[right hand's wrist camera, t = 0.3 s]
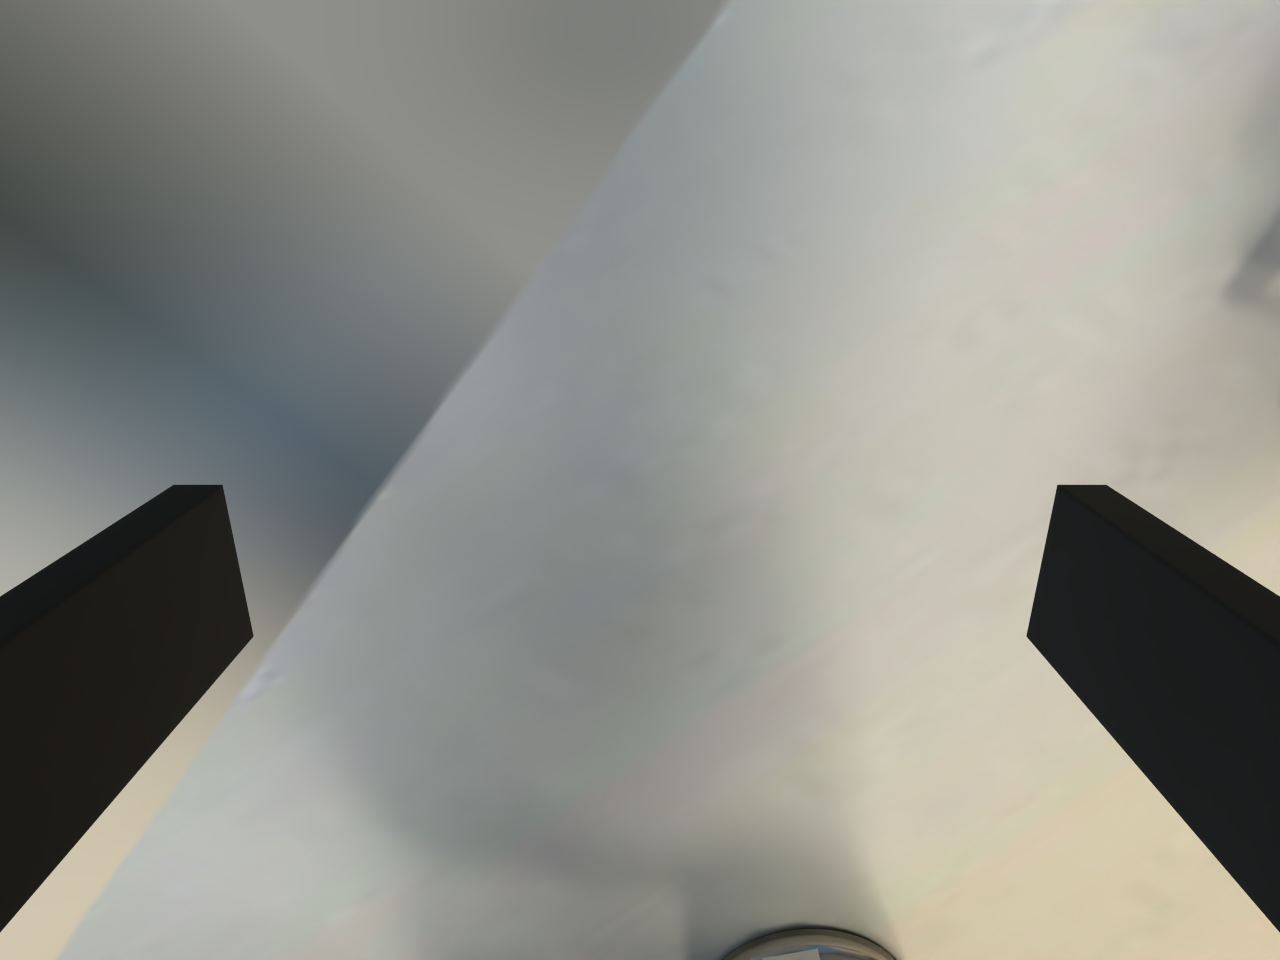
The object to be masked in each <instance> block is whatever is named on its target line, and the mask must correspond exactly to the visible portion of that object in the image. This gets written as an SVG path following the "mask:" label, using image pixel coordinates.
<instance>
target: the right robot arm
mask: <svg viewBox="0 0 1280 960" xmlns="http://www.w3.org/2000/svg"><path fill="white" fill-rule="evenodd" d="M252 637H253V632H252V627H251V622H250V617H249V612H248V607H247V602H246V598H245V593H244V588H243V583H242V578H241V573H240V568H239V563H238V558H237V554H236V549H235V544H234V539H233V534H232V529H231V524H230V519H229V514H228V510H227V505H226V500H225V495H224V490H223V485H173V486H171V487H170V488H168V489H167V490H165V491H164V492H162V493H160V494H159V495H157V496H156V497H154V498H153V499H151V500H150V501H148V502H146V503H145V504H143V505H142V506H140V507H139V508H137V509H136V510H134V511H132V512H131V513H129V514H128V515H126V516H125V517H123V518H122V519H120V520H118V521H117V522H115V523H114V524H112V525H111V526H109V527H108V528H106V529H105V530H103V531H101V532H100V533H98V534H97V535H95V536H94V537H92V538H91V539H89V540H87V541H86V542H84V543H83V544H81V545H80V546H78V547H77V548H75V549H73V550H72V551H70V552H69V553H67V554H66V555H64V556H63V557H61V558H59V559H58V560H56V561H55V562H53V563H52V564H50V565H49V566H47V567H46V568H44V569H42V570H41V571H39V572H38V573H36V574H35V575H33V576H32V577H30V578H28V579H27V580H25V581H24V582H22V583H21V584H19V585H18V586H16V587H14V588H13V589H11V590H10V591H8V592H7V593H5V594H4V595H2V596H1V597H0V932H1V931H2V930H3V928H4V927H5V926H6V925H7V924H8V923H9V921H10V920H11V919H12V918H13V917H14V916H15V914H16V913H17V912H18V911H19V910H20V909H21V907H22V906H23V905H24V904H25V903H26V902H27V900H28V899H29V898H30V897H31V896H32V895H33V893H34V892H35V891H36V890H37V889H38V888H39V886H40V885H41V884H42V883H43V882H44V880H45V879H46V878H47V877H48V876H49V875H50V873H51V872H52V871H53V870H54V869H55V868H56V867H57V865H58V864H59V863H60V862H61V861H62V860H63V858H64V857H65V856H66V855H67V854H68V853H69V851H70V850H71V849H72V848H73V847H74V845H75V844H76V843H77V842H78V841H79V840H80V838H81V837H82V836H83V835H84V834H85V833H86V831H87V830H88V829H89V828H90V827H91V826H92V824H93V823H94V822H95V821H96V820H97V819H98V817H99V816H100V815H101V814H102V813H103V812H104V810H105V809H106V808H107V807H108V806H109V805H110V803H111V802H112V801H113V800H114V799H115V798H116V796H117V795H118V794H119V793H120V792H121V791H122V789H123V788H124V787H125V786H126V785H127V783H128V782H129V781H130V780H131V779H132V778H133V777H134V775H135V774H136V773H137V772H138V771H139V770H140V768H141V767H142V766H143V765H144V764H145V763H146V761H147V760H148V759H149V758H150V757H151V756H152V754H153V753H154V752H155V751H156V750H157V749H158V747H159V746H160V745H161V744H162V743H163V742H164V740H165V739H166V738H167V737H168V736H169V734H170V733H171V732H172V731H173V730H174V729H175V727H176V726H177V725H178V724H179V723H180V722H181V720H182V719H183V718H184V717H185V716H186V715H187V713H188V712H189V711H190V710H191V709H192V708H193V706H194V705H195V704H196V703H197V702H198V701H199V699H200V698H201V697H202V696H203V695H204V694H205V692H206V691H207V690H208V689H209V688H210V687H211V685H212V684H213V683H214V682H215V681H216V679H217V678H218V677H219V676H220V675H221V674H222V673H223V671H224V670H225V669H226V668H227V667H228V665H229V664H230V663H231V662H232V661H233V660H234V658H235V657H236V656H237V655H238V654H239V653H240V652H241V650H242V649H243V648H244V647H245V646H246V644H247V643H248V642H249V641H250V640H251V639H252ZM1027 637H1028V639H1029V640H1030V641H1031V642H1032V643H1033V645H1034V646H1035V647H1036V648H1037V649H1038V650H1039V652H1040V653H1041V654H1042V655H1043V656H1044V657H1045V659H1046V660H1047V661H1048V662H1049V663H1050V664H1051V666H1052V667H1053V668H1054V669H1055V670H1056V671H1057V673H1058V674H1059V675H1060V676H1061V677H1062V678H1063V680H1064V681H1065V682H1066V683H1067V684H1068V685H1069V687H1070V688H1071V689H1072V690H1073V691H1074V692H1075V694H1076V695H1077V696H1078V697H1079V698H1080V699H1081V701H1082V702H1083V703H1084V704H1085V705H1086V706H1087V708H1088V709H1089V710H1090V711H1091V712H1092V713H1093V715H1094V716H1095V717H1096V718H1097V719H1098V720H1099V722H1100V723H1101V724H1102V725H1103V726H1104V727H1105V729H1106V730H1107V731H1108V732H1109V733H1110V734H1111V736H1112V737H1113V738H1114V739H1115V740H1116V742H1117V743H1118V744H1119V745H1120V746H1121V747H1122V749H1123V750H1124V751H1125V752H1126V753H1127V754H1128V756H1129V757H1130V758H1131V759H1132V760H1133V761H1134V763H1135V764H1136V765H1137V766H1138V767H1139V768H1140V770H1141V771H1142V772H1143V773H1144V774H1145V775H1146V777H1147V778H1148V779H1149V780H1150V781H1151V782H1152V784H1153V785H1154V786H1155V787H1156V788H1157V789H1158V791H1159V792H1160V793H1161V794H1162V795H1163V796H1164V798H1165V799H1166V800H1167V801H1168V802H1169V803H1170V805H1171V806H1172V807H1173V808H1174V809H1175V810H1176V812H1177V813H1178V814H1179V815H1180V816H1181V817H1182V819H1183V820H1184V821H1185V822H1186V823H1187V824H1188V826H1189V827H1190V828H1191V829H1192V830H1193V831H1194V833H1195V834H1196V835H1197V836H1198V837H1199V838H1200V840H1201V841H1202V842H1203V843H1204V844H1205V846H1206V847H1207V848H1208V849H1209V850H1210V851H1211V853H1212V854H1213V855H1214V856H1215V857H1216V858H1217V860H1218V861H1219V862H1220V863H1221V864H1222V865H1223V867H1224V868H1225V869H1226V870H1227V871H1228V872H1229V874H1230V875H1231V876H1232V877H1233V878H1234V879H1235V881H1236V882H1237V883H1238V884H1239V885H1240V886H1241V888H1242V889H1243V890H1244V891H1245V892H1246V893H1247V895H1248V896H1249V897H1250V898H1251V899H1252V900H1253V902H1254V903H1255V904H1256V905H1257V906H1258V907H1259V909H1260V910H1261V911H1262V912H1263V913H1264V914H1265V916H1266V917H1267V918H1268V919H1269V920H1270V921H1271V923H1272V924H1273V925H1274V926H1275V927H1276V928H1277V930H1278V931H1279V932H1280V596H1278V595H1276V594H1275V593H1273V592H1272V591H1270V590H1269V589H1267V588H1266V587H1264V586H1262V585H1261V584H1259V583H1258V582H1256V581H1255V580H1253V579H1252V578H1250V577H1248V576H1247V575H1245V574H1244V573H1242V572H1241V571H1239V570H1238V569H1236V568H1234V567H1233V566H1231V565H1230V564H1228V563H1227V562H1225V561H1224V560H1222V559H1221V558H1219V557H1217V556H1216V555H1214V554H1213V553H1211V552H1210V551H1208V550H1207V549H1205V548H1203V547H1202V546H1200V545H1199V544H1197V543H1196V542H1194V541H1193V540H1191V539H1189V538H1188V537H1186V536H1185V535H1183V534H1182V533H1180V532H1179V531H1177V530H1175V529H1174V528H1172V527H1171V526H1169V525H1168V524H1166V523H1165V522H1163V521H1162V520H1160V519H1158V518H1157V517H1155V516H1154V515H1152V514H1151V513H1149V512H1148V511H1146V510H1144V509H1143V508H1141V507H1140V506H1138V505H1137V504H1135V503H1134V502H1132V501H1130V500H1129V499H1127V498H1126V497H1124V496H1123V495H1121V494H1120V493H1118V492H1116V491H1115V490H1113V489H1112V488H1110V487H1109V486H1107V485H1057V490H1056V495H1055V500H1054V505H1053V510H1052V514H1051V519H1050V524H1049V529H1048V534H1047V539H1046V544H1045V549H1044V553H1043V558H1042V563H1041V568H1040V573H1039V578H1038V583H1037V588H1036V593H1035V597H1034V602H1033V607H1032V612H1031V617H1030V622H1029V627H1028V632H1027ZM722 960H895V959H894V958H893V957H892V956H891V955H889V954H888V953H887V952H886V951H885V950H883V949H882V948H880V947H879V946H877V945H875V944H874V943H872V942H870V941H868V940H866V939H863V938H861V937H858V936H855V935H852V934H848V933H844V932H840V931H834V930H826V929H798V930H789V931H783V932H779V933H774V934H770V935H767V936H764V937H761V938H758V939H756V940H753V941H751V942H749V943H747V944H745V945H743V946H741V947H739V948H738V949H736V950H734V951H733V952H731V953H730V954H729V955H727V956H726V957H725V958H724V959H722Z"/></svg>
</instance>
